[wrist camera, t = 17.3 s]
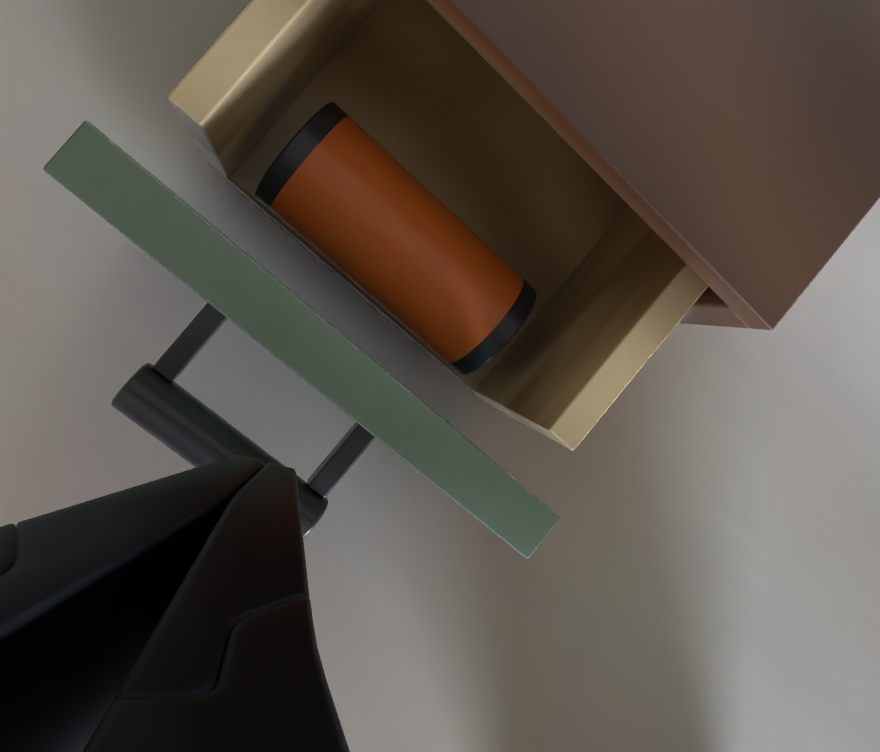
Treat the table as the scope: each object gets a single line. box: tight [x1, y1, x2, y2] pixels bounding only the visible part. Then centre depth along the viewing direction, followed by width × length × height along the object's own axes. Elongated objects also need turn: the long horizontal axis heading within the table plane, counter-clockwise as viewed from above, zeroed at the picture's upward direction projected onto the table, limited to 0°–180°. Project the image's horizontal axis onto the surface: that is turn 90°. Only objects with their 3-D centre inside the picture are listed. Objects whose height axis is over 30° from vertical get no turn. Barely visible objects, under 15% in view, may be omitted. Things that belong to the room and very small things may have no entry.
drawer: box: [43, 0, 708, 559], centre depth 18 cm, size 15×12×8 cm
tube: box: [254, 102, 537, 375], centre depth 20 cm, size 7×3×3 cm, turn 49°
